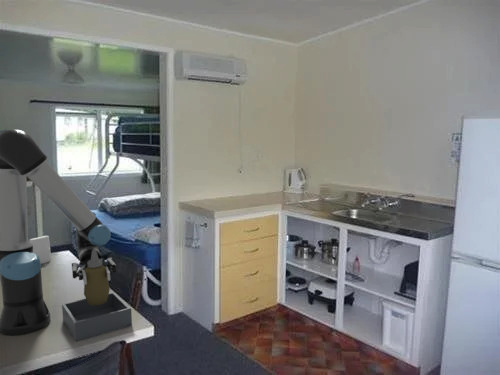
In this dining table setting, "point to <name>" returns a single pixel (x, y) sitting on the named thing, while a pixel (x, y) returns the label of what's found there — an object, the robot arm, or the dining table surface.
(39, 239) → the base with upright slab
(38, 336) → the dining table surface
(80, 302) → the box
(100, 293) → the squeeze bottle
